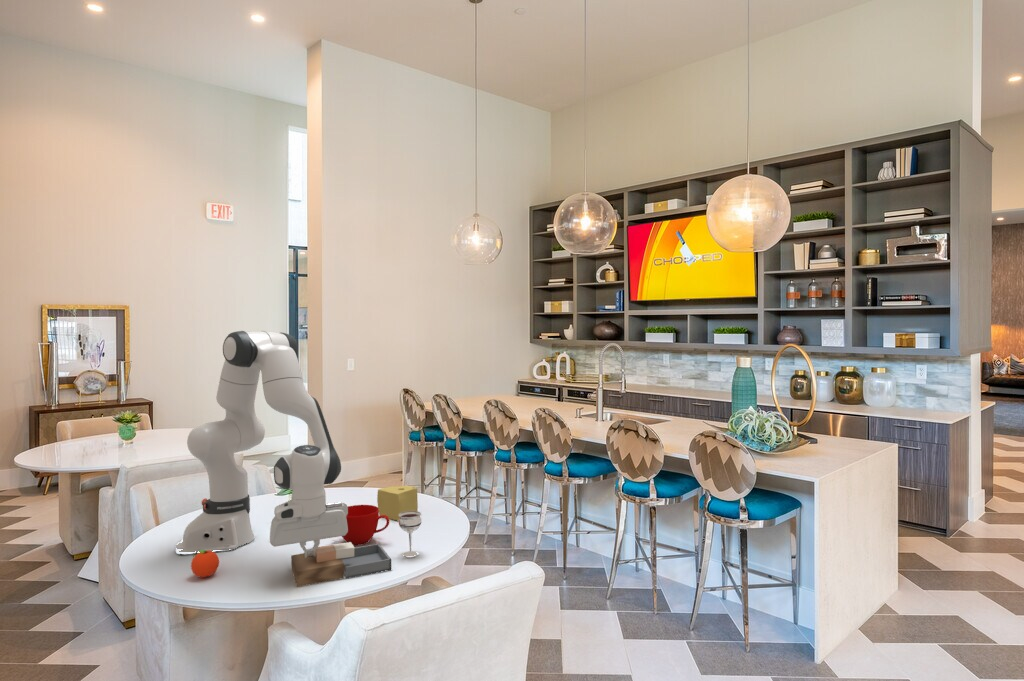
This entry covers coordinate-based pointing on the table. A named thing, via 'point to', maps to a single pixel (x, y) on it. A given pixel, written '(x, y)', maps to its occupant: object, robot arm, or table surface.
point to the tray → (366, 561)
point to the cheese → (397, 500)
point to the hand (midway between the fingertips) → (310, 556)
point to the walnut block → (315, 570)
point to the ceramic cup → (362, 523)
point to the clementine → (204, 563)
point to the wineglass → (409, 525)
